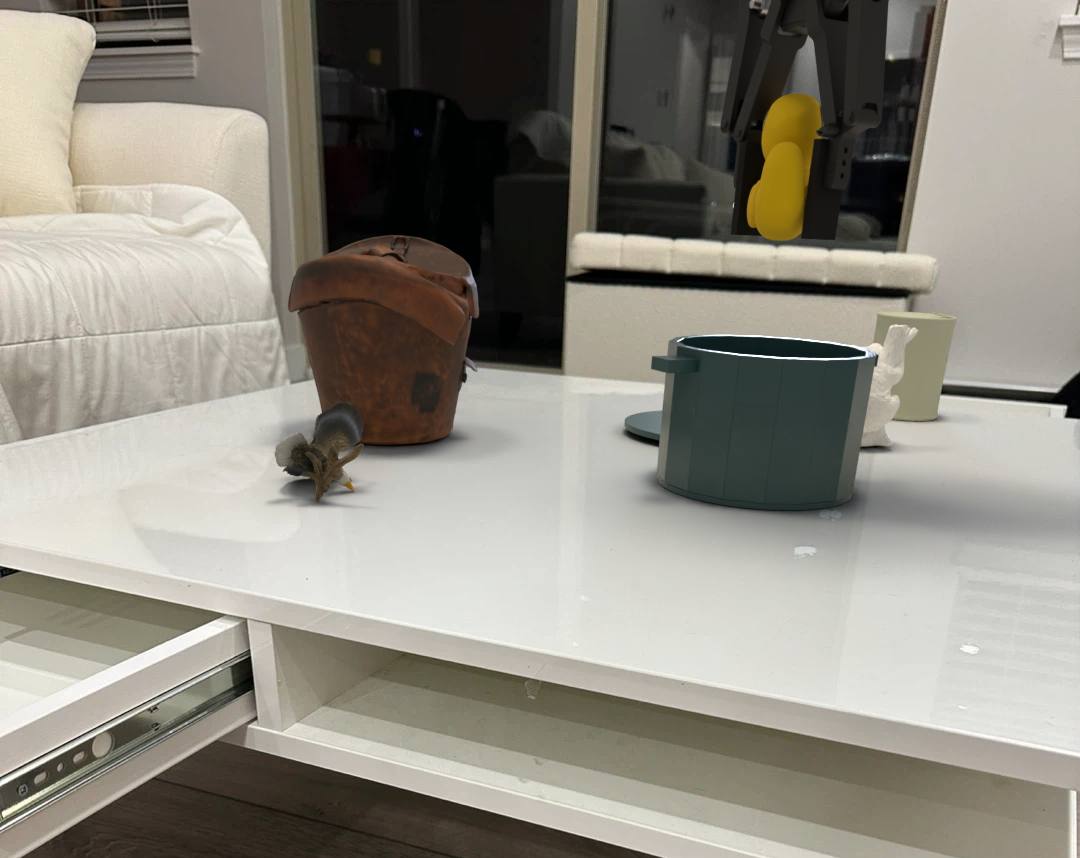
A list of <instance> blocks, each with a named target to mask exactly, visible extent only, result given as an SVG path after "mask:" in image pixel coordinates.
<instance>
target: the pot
mask: <svg viewBox="0 0 1080 858" xmlns="http://www.w3.org/2000/svg"><path fill="white" fill-rule="evenodd" d="M856 346H857V345H856ZM856 346H851V345H850V344H845V343H838V342H831V341H823V340H814V339H804V338H795V337H794V338H793V337H782V336H781V337H780V336H769V335H768V336H766V335H746V334H745V335H743V334H694V335H693V334H692V335H684V336H675V337H673V338H672V339H670V340H668V343H667V354H666V355H652V356H651V362H650V363H651V364H650V370H653V371H657V372H661V373H665V378H664V388H663V398H662V399H663V400H662V410H661V411H662V420H661V431H660V441H658V443H659V444H658V455H657V464H656V475H657V481H658V483H659V485H660V486H662V487H663V488H664V489H666V490H668V491H669V492H672V493H674V494H677V495H680V496H682V497H685V498H689V499H691V500H692V499H693V500H696V501H701V502H705V503H710V504H715V505H721V506H726V507H734V508H741V509H742V508H743V509H753V510H765V511H809V510H820V509H827V508H832V507H837V506H840V505H843V504H845V503H847V502H848V501H850V500H851V498H852V497H853V492H854V487H855V482H856V475H857V470H858V464H859V458H860V453H861V448H862V447H861V441H862V436H863V430H864V424H865V418H866V412H867V407H868V401H869V395H870V389H871V383H872V378H873V372H874V367H876V366H877V362H878V357H879V355H878V354H876V352H874V351H871V350H867V349H864V348H861V347H862V346H858V347H856Z"/></svg>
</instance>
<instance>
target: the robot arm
mask: <svg viewBox="0 0 1080 858" xmlns="http://www.w3.org/2000/svg"><path fill="white" fill-rule="evenodd" d="M889 2H890V0H738V25H737V26H738V27H737V31H736V37H735V41H734V47H733V53H732V59H731V64H730V69H729V74H728V79H727V85H726V91H725V97H724V101H723V106H722V107H723V108H722V113H721V119H720V125H719V128H720V132H721V133H722V134H727V135H729V136H731V137H732V138H733V140H734V141H735V142H736V151H735V152H736V154H735V163H734V170H733V171H734V173H733V180H732V181H733V189H734V200H733V208H732V217H731V218H732V219H731V227H730V235H731V236H754V237H763V236H762V235H761V234H760V233H759V231H758V229H757V227H756V228H752V227H750V226H749V224H748V219H747V205H748V199H749V195H750V192H751V189H752V187H753V186H754V185H755V184H757V182H758V181H759V180H761V176H762V171H763V167H764V164H765V161H766V160H765V158H764V155H763V151H762V129H763V124H764V120H765V117H766V115H767V112H768V110H769V109H770V107H771V106H772V104H773V103H774V102H775V101H776V100H777V99H779V98H780V97H782V96H783V93H784V89H785V87H786V84H787V81H788V78H789V76H790V73H791V70H792V67H793V65H794V62H795V58H796V56H797V53H798V52H799V51H800V50H801V49H802V48H803V47H805V44H806V42H807V40H808V37H809V38H810V39H811V40H812V42H813V48H814V57H815V66H816V75H817V83H818V91H819V101H820V106H821V110H822V118H823V126H822V127H821V128H819V130H816V133H817V135H818V136H821V137H823V139H814V144H813V152H812V159H811V165H810V174H809V181H808V189H807V196H806V204H805V211H804V219H803V226H802V233H801V234H800V239H801V240H819V241H821V240H822V241H836V236H837V229H838V223H839V216H840V210H841V204H842V203H841V202H842V196H843V191H844V190H846V189H847V187H848V184H849V180H850V174H851V173H850V172H851V167H852V160H853V156H854V155H853V154H854V147H855V143H856V140H857V139H858V138H859V137H860V135H861V133H863V132H865V131H867V130H869V129H876V128H878V127H879V125H880V124H881V121H882V118H883V106H884V105H883V104H884V86H885V71H886V53H887V36H888V16H889ZM780 28H781V29H780ZM863 104H864V106H863ZM737 115H738V116H737ZM755 122H756V123H755Z"/></svg>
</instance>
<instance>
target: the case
mask: <svg viewBox="0 0 1080 858" xmlns="http://www.w3.org/2000/svg"><path fill="white" fill-rule="evenodd" d="M478 294H479V293H478V288H477V283H476V280H475V278H474V276H473V272H472V268H471V266H470V264H469V263H468V262H467V260H465V258H463V257H462V256H460V255H459V254H457V253H456V252H454V251H452V250H451V249H449V248H447V247H446V246H444V245H442V244H439V243H436V242H434V241H431V240H428V239H425V238H422V237H417V236H411V235H399V234H397V235H396V234H395V235H394V234H388V235H380V236H374V237H369V238H364V239H361V240H357V241H355V242H351V243H350V244H349V243H348V244H347V245H344V246H343V247H341V248H339V249H337V250H335V251H332V252H329V253H327V254H325V255H322V256H321V257H319V258H315V259H312V260H307V261H305V262H303V263H301V264H300V265H299V266H298V267H297V269H296V271H295V273H294V275H293V279H292V282H291V285H290V291H289V295H288V300H287V310H288V312H289V313H294V312H297V317H298V318H299V320H300V325H301V330H302V333H303V338H304V341H305V346H306V350H307V354H308V359H309V364H310V367H311V372H312V375H313V380H314V384H315V387H316V392H317V396H318V400H319V405H320V410H321V413H323V412H324V411H325V410H326V409H329V408H330V407H331V406H333V405H335V404H336V403H337V402H340V401H342V402H343V401H344V402H348V403H351V405H355V408H356V409H357V410H358V413H359V414H360V415H361V420H362V422H363V423H364V425H363V432H362V434H361V435H362V439H361V440H360V441H359V442H358V443H357V444H363V445H376V446H394V445H395V446H396V445H410V444H421V443H428V442H429V443H430V442H433V441H436V440H440V439H443V438H445V437H447V436H448V435H450V434H451V432H452V431H453V428H454V424H455V417H456V412H457V406H458V401H459V395H460V391H461V389H462V386H463V384H466V383H467V381H468V373H467V367H469V368H470V369H471V370H472V371H473V372H475V373H477V372H479V371H478V366H477V364H476V363H475V362H473V360H471V359H470V358H469V357H467V356H466V353H467V348H468V342H469V339H470V334H471V328H472V318H473V319H478V318H479V316H480V308H479V295H478Z"/></svg>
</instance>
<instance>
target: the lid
mask: <svg viewBox="0 0 1080 858" xmlns="http://www.w3.org/2000/svg"><path fill="white" fill-rule="evenodd" d="M661 420H662V410H652V411H642V412H637V413H633V414H630V415H628V416H626V417H625V419H624V423H623V424H624V425H623V426H624V428H625V429H626V430H627V431H628V432H630V433H633V434H635V435H638V436H641V437H644V438H648V439H651V440H652V441H653V440H654V441H657V442H660V431H661Z"/></svg>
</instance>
